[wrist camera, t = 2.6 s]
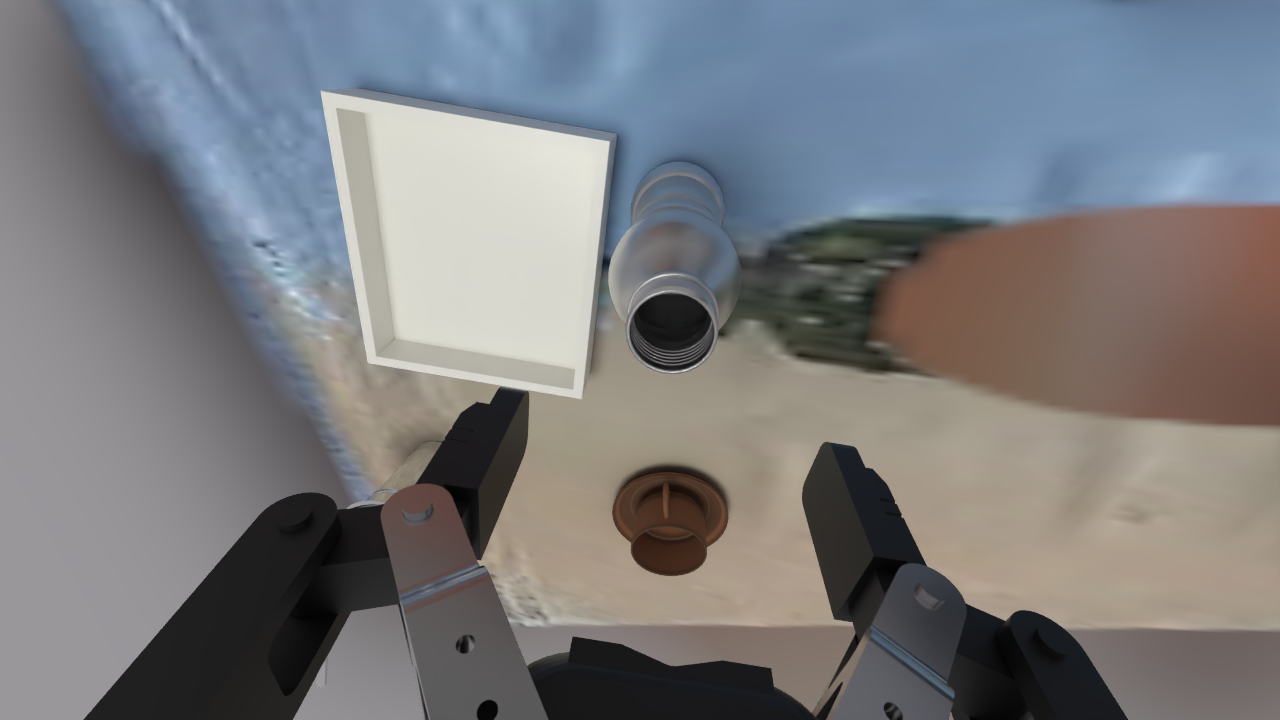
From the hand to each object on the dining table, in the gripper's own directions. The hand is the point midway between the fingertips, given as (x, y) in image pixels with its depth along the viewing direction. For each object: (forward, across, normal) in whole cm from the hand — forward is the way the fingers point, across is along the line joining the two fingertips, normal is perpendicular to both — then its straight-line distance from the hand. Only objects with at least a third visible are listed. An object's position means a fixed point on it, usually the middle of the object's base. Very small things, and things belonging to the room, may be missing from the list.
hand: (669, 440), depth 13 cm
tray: (+26, +14, +6) cm, 30 cm away
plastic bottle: (+26, 0, 0) cm, 26 cm away
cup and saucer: (+27, -5, +31) cm, 41 cm away
